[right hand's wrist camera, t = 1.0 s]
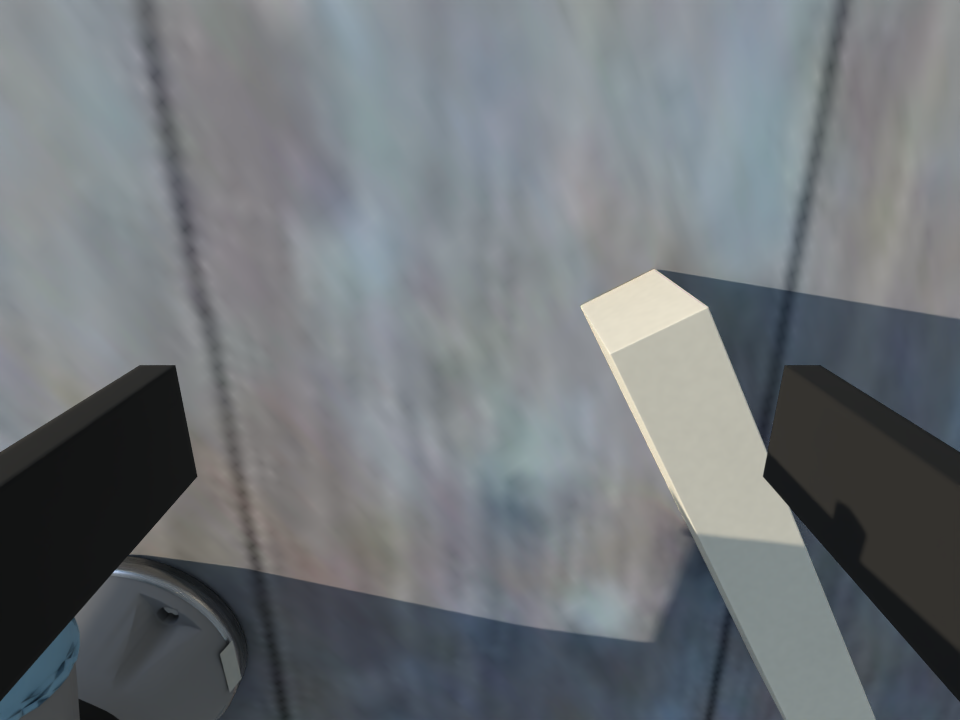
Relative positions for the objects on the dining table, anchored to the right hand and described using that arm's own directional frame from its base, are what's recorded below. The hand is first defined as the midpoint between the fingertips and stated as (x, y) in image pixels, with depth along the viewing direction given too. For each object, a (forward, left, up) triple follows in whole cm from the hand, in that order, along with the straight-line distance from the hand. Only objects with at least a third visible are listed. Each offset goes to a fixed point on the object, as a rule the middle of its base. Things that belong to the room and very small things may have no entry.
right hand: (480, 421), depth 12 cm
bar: (-6, +20, -20) cm, 29 cm away
